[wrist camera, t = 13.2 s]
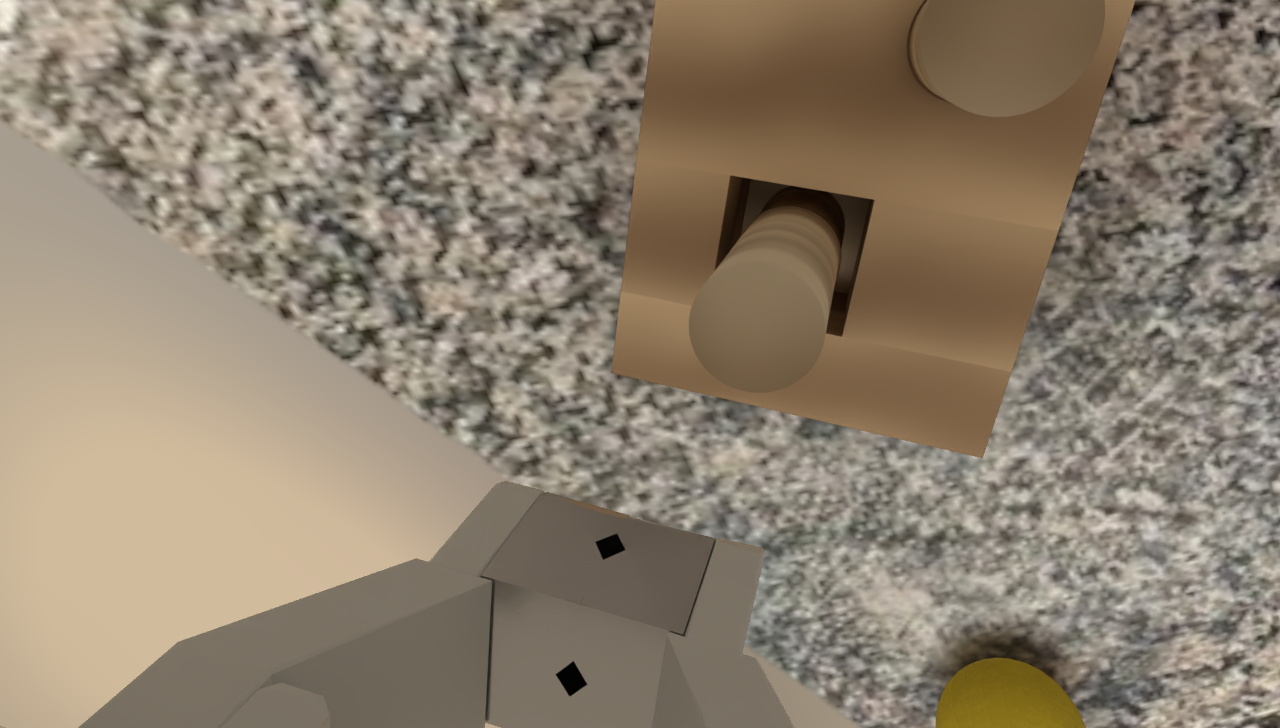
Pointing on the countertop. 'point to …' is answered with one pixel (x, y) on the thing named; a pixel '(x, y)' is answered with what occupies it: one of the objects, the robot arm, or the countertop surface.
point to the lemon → (1005, 698)
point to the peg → (771, 294)
